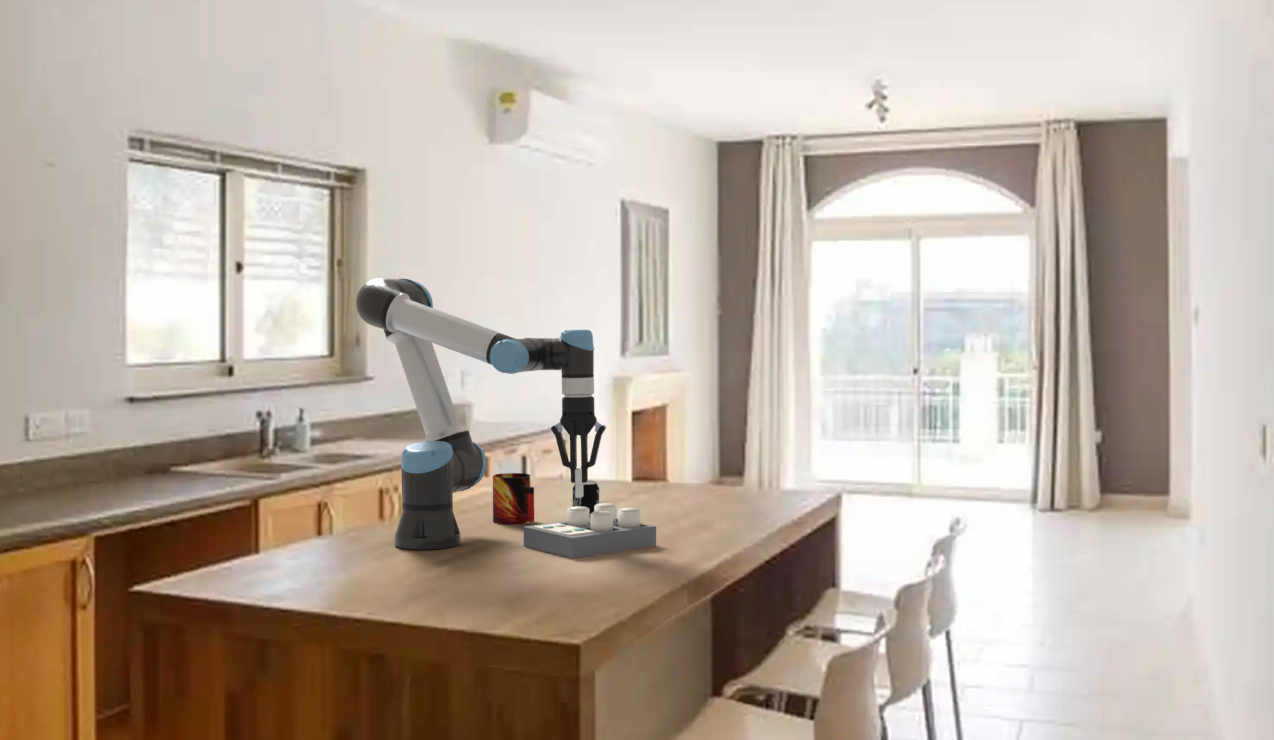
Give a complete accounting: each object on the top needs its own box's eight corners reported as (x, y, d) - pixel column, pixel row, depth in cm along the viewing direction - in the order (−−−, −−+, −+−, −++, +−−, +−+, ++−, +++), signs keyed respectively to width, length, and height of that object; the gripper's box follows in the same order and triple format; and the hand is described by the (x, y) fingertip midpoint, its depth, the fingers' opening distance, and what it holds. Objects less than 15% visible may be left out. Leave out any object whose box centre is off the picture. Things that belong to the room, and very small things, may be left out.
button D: (627, 534, 292) (627, 511, 292) (613, 531, 296) (613, 508, 296) (644, 532, 295) (644, 509, 295) (630, 529, 299) (630, 506, 299)
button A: (575, 533, 294) (575, 510, 293) (562, 530, 298) (562, 507, 298) (593, 530, 297) (593, 508, 297) (580, 527, 301) (580, 505, 301)
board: (572, 558, 279) (572, 535, 279) (523, 546, 294) (523, 524, 294) (656, 545, 294) (656, 524, 294) (605, 534, 309) (605, 514, 309)
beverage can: (595, 532, 311) (595, 484, 311) (569, 532, 313) (569, 483, 312) (601, 528, 318) (601, 480, 317) (576, 527, 319) (576, 479, 318)
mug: (532, 527, 320) (532, 479, 320) (485, 523, 326) (485, 476, 325) (551, 521, 329) (551, 475, 328) (505, 517, 335) (505, 472, 334)
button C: (599, 538, 287) (599, 515, 286) (585, 535, 291) (585, 512, 291) (617, 535, 290) (617, 512, 290) (603, 532, 294) (603, 510, 294)
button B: (603, 529, 299) (603, 506, 299) (590, 526, 303) (589, 504, 303) (620, 526, 302) (620, 504, 302) (607, 524, 306) (607, 502, 306)
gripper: (607, 394, 299) (609, 494, 300) (553, 394, 300) (554, 494, 301) (603, 396, 292) (605, 499, 292) (547, 397, 293) (549, 499, 294)
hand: (579, 496), depth 297 cm, fingers closed
